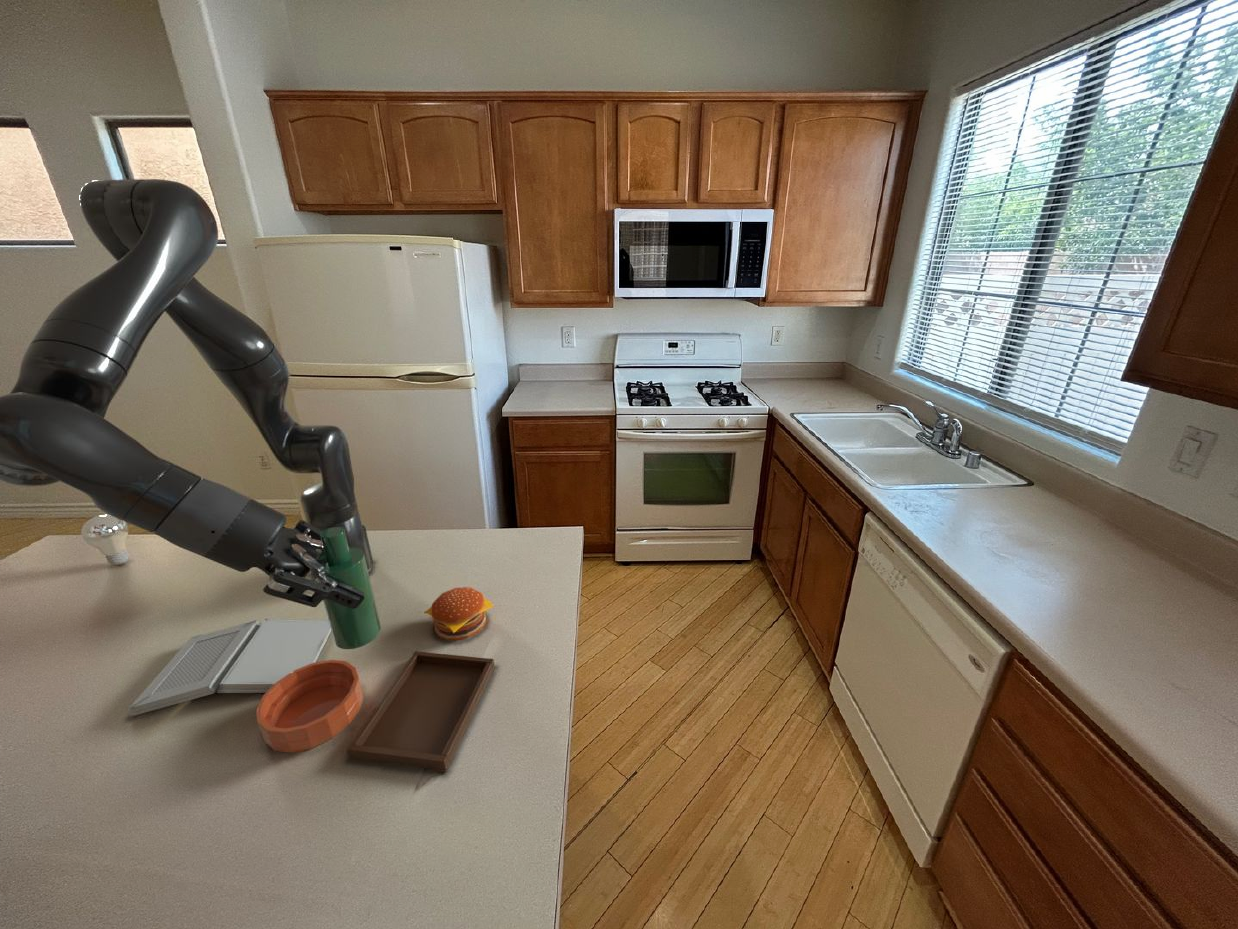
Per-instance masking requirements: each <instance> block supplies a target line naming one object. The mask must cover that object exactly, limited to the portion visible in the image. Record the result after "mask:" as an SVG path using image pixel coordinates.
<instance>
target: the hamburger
mask: <svg viewBox="0 0 1238 929" xmlns="http://www.w3.org/2000/svg"><path fill="white" fill-rule="evenodd" d="M493 607H495V605H494V604H493V603H492V602H491V601H490V600H488V599H486V598H485V596H484V594H483V592H481V591H479V590H476V589H475V588H473V587H471V586H468V587H467V586H466V587H465V586H463V587H454V588H451V589H448V590H447V591H443V592H442V593H441V594H440V595H439V596H438V597H437V598H436V599H435V600H434V601H433V602H432V603H431V606H430V607H429V608H428V609H427V610H425V611H424V613H423V614H427V615H429V616H431V618H432V621H433V624H434V632H435V634H436V635H437V636H438V637H439V638H441V639H443V640H446V641H461V640H465V639H468V638H471V637H472V636H474V635H476V634H478V633H479V632H480V631H481V630H482V629H484V628H485V625H486V623H487V615H486V611H488V610H490V609H492V608H493Z"/></svg>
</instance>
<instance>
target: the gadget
mask: <svg viewBox="0 0 1238 929" xmlns="http://www.w3.org/2000/svg"><path fill="white" fill-rule="evenodd" d="M330 634H332V631H331V628H330V624H329V620H310V619H309V620H303V619H273V618H272V619H270V618H269V619H268V618H266V619H264V621H263V622H258V619H257V620H251V621H248V622H245V623H240V624H237V625H233V626H230V627H226V628H221V629H217V630H215V631H211V632H207V633H203V634H198V635H196V636H192V637H190V638H189V639H188V640H187V641H186V642H185V643H184V645H182V647H181V648H180V649H179V650H178V651H177V652H176V654H175V655H174V656H173V657H172V658H171V659H170V660H169V662H168V663H167V664H166V665H165V666H164V667H163V668H162V669H161V671H160V672H159V673H158V674H157V675H156V676H155V677H154V679H153V680H152V681H151V682H150V683H149V684H148V685H147V686H146V688H145V689H144V690H143V692H141V694H139V696H138V697H137V698H136V699H135V700H134V702H133V703H132V704H131V705H130V706H129V708H128V709H129V710H130V713H129V715H130V717H134V716H138V715H142V714H145V713H148V712H152V711H156V710H159V709H163V708H166V707H170V706H175V705H178V704H181V703H185V702H188V701H192V700H196V699H199V698H202V697H206V696H209V695H212V694H215V693H217V694H244V693H245V694H249V693H250V694H252V693H253V694H255V693H261V694H263V693H264V694H265V693H266V692H267V691H268V690H269V689H270V688H271V687H272V686H273V685H274V684H275V683H276V682H277V681H279V680H280V679H282V678H283V677H285V676H287V675H288V674H290V673H291V672H293V671H294V670H296V669H299V668H301V667H304V666H306V665H309V664H311V663H315V662H317V660H318V659H319V657H320V654H321V652H322V650H323V648H324V646H325V644H326V642H327V641H328V638H329V637H330Z"/></svg>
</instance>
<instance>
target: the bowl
mask: <svg viewBox="0 0 1238 929" xmlns="http://www.w3.org/2000/svg"><path fill="white" fill-rule="evenodd" d="M364 697H365V696H364V691H363V687H362V684H361V681H360V677H359V674H358V671H357V668H356V667H355V666H354V665H352V664H351V663H349V662H347V661H346V660H338V659H326V660H321V661H316V662H315V663H311V664H309V665H306V666H304V667H301V668H299V669H296V670H294V671H293V672H291V673H290V674H288V675H287V676H285V677H283V678H282V679H280V680H279V681H277V682H276V683H275V684H274V685H273V686H272V687H271V688H270V689H269V690H268V691H267V692H266V693H264V695H262V697H261V699H260V701H259V703H258V705H257V707H256V709H255V714H256V722H257V726H258V728H259V731H260V733H261V736H262V738H263V740H264V743H265V744H266V745H267V746H268V747H270V748H271V749H272V750H273V751H275V752H282V753H290V754H294V753H297V752H302V751H307V750H312V749H314V748H316V747H318V746H320V745H322V744H324V743H326V742H328V741H331V740H332V739H334V738H335V737H337V735H339V734H340V733H341V732H342V731H343V730H345V729H346V728H347V727H349V726H350V725H351V723H352V722H353V721H354V719H355V718H356V716H357V715H358V714H359V712H360V711H361V709H362V705H363V701H364Z"/></svg>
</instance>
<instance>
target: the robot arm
mask: <svg viewBox="0 0 1238 929" xmlns="http://www.w3.org/2000/svg"><path fill="white" fill-rule="evenodd" d="M79 206H80V209H81V213H82V215H83V217H84V220H85V222H86V223H87V225H88V227H89V229H90V230H91V232H92V233H93V234H94V236H95V237H96V239H97V240H98V241H99V243H100V244H101V245H102V246H103V247H104V248H105V249H106V251H107V252H108V253H109V254H110V255H111V256H112V258H113V259H115V261H116V262H115V263H114V264H112V265H111V266H109V267H108V268H107V269H106V270H104V271H102V272H101V273H99V274H98V275H96V276H95V277H93V278H92V279H90V280H89V281H87V282H86V283H84V284H83V285H81V286H80V287H78V288H77V289H75V290H74V291H72V292H71V293H70V294H68V295H67V296H66V297H65V298H64V299H62V301H60V302H59V303H58V304H57V305H56V306H55V307H54V308H53V309H52V311H50V313H49V314H48V315H47V317H46V318H45V320H44V322H43V323H42V325H41V326H40V328H39V330H38V331H37V332H36V334H35V336H34V337H33V339H32V340H31V342H30V344H29V345H28V347H27V348H26V351H25V352H24V354H23V356H22V359H21V362H20V366H19V372H18V377H17V380H16V382H15V384H14V386H13V388H12V389H11V390H10V392H9V393H8V394H4V395H1V396H0V481H1V482H3V483H6V484H10V485H14V486H18V487H19V486H20V487H42V486H50V485H53V484H57V483H59V482H61V483H63V484H65V485H68V486H70V487H71V488H74V489H75V490H78V491H80V492H82V493H83V494H85V495H87V496H88V497H89V498H90V499H91V501H92V502H93V503H94V506H96V507H97V508H98V509H99V510H100V511H102V512H103V513H105V514H106V515H111V516H113V517H115V518H117V519H120V520H123V521H124V522H126V523H127V524H128V525H129V524H130V525H132V526H134V527H136V528H139V529H141V530H144V531H146V532H149V533H151V534H152V533H153V534H154V535H156V536H157V537H160V538H162V539H164V540H165V541H167V542H168V543H170V544H172V545H175V546H176V547H178V548H181V549H183V550H186V551H188V552H190V553H193V554H195V555H198V556H200V557H203V558H205V559H208V560H210V561H212V562H215V563H217V564H220V565H222V566H225V567H227V568H230V569H232V570H234V571H237V572H239V573H246V572H248V571H249V570H251V569H253V568H257V569H259V570H260V571H262V572H264V574H266V575H267V576H269V581H268V583H267V584H266V585H265V586H264V587H263V588H262V591H263V593H265V594H266V595H269V596H272V597H276V598H279V599H283V600H286V601H290V602H293V603H297V604H300V605H304V606H307V607H310V608H317V607H318V606H319V605H320V604H321V603H322V602H323V600H325V599H329V600H331V601H334V602H336V603H338V604H341V605H344V606H346V607H348V608H351V609H355V608H357V607H358V606H359V605H360V604H361V602H362V601H363V600H364V598H365V593H364V592H362V591H359V590H357V589H355V588H353V587H350V586H348V585H346V584H344V583H341V582H337V581H336V580H335V579H333V578H332V577H331V576H329V575H327V574H326V573H325V571H324V569H325V568H324V566H323V565H321V564H320V563H319V562H317V561H316V560H317V559H318V558H320V557H321V556H323V555H324V554H325V552H324V548H323V544H322V541H321V537H320V534H321V532H323V531H324V530H326V529H329V528H332V527H342V528H344V531H345V535H346V539H347V543H348V547H349V548H357V549H360V550H362V551H363V552H364V556H365V560H366V565H367V569H368V573H369V574H370V573H371V572H372V569H373V566H372V565H373V564H374V558H373V554H372V549H371V546H370V542H369V537H368V533H367V528H366V526H365V525H364V524H362V520H361V515H360V510H359V507H358V503H357V498H356V493H355V477H354V471H353V465H352V459H351V453H350V452H351V451H350V447H349V442H348V440H347V437H346V435H345V433H344V431H343V430H342V429H341V428H340V427H338V426H336V425H327V424H326V425H316V424H315V425H313V424H311V425H301V424H300V423H298V422H297V421H296V420H295V419H294V418H293V417H292V415H291V413H290V412H289V409H288V408H287V406H286V401H287V400H286V399H287V394H288V389H289V384H290V371H289V366H288V364H287V362H286V361H285V358H284V357H283V356H282V353H281V352H280V351H279V349H278V348H277V346H276V344H275V343H274V340H272V338H271V337H270V335H269V334H268V333H267V332H266V330H264V328H263V327H262V326H260V325H259V324H258V323H257V322H255V321H254V320H253V319H252V318H250V317H249V316H247V315H246V314H244V313H243V312H241V311H240V310H238V309H237V308H235V307H234V306H233V305H231V304H229V303H228V302H227V301H225V300H223V299H222V298H220V297H219V296H217V295H216V294H215V293H214V292H212V291H210V290H209V289H208V288H207V287H206V286H204V285H203V284H202V283H201V282H200V281H199V280H198V279H197V278H196V277H195V276H196V275H197V273H199V271H200V270H201V269H202V268H203V267H204V266H205V264H206V263H207V262H208V261H209V260H210V258H211V257H212V255H213V254H214V252H215V250H216V248H217V245H218V241H219V228H218V222H217V220H216V217H215V215H214V213H213V211H212V209H211V208H210V206H209V204H208V202H206V200H205V199H204V198H203V197H202V196H201V195H200V194H199V193H198V192H197V191H196V190H195V189H194V188H192V187H190V186H188V185H186V184H185V183H181V182H178V181H175V180H167V179H158V178H149V179H148V178H145V179H144V178H143V179H141V178H138V179H137V178H136V179H134V178H132V179H130V178H129V179H126V178H125V179H124V178H123V179H97V180H92V181H89V182H87V183H85V184H84V185H83V186H82V187H81V189H80V192H79ZM164 313H165V314H167V315H168V317H169V318H170V319H171V320H172V322H173V323H174V324H175V325H176V327H177V328H178V329H179V330H180V331H181V332H182V334H184V336H185V337H186V338H187V339H188V340H189V342H190V344H192V346H193V347H194V348H195V349H196V351H197V352H198V354H199V355H200V356H201V357H202V359H203V360H204V362H205V363H206V364H207V366H208V367H209V368H210V369H211V371H212V372H213V373H214V375H215V376H216V377H217V378H218V380H219V381H220V382H221V383H222V384H223V385H224V387H225V388H226V389H227V390H228V391H229V392H230V394H232V396H233V397H234V398H235V400H236V402H238V404H239V405H240V406H241V408H242V410H243V411H244V412H245V413H246V414H247V416H248V417H249V418H250V420H251V421H252V423H253V425H254V426H255V427H256V429H257V431H258V432H259V434H260V435H261V437H262V438H263V440H264V441H265V443H266V445H267V446H268V448H269V450H270V451H271V453H272V455H273V456H274V458H275V459H276V461H277V462H278V463H279V465H280V466H282V468H283V469H285V470H286V471H288V472H290V473H294V474H320V475H321V479H322V480H321V481H322V482H319V483H317V484H313V485H312V486H310V487H308V488H307V489H305V490H304V491H303V492H302V493H301V494H300V503H301V507H302V510H303V514H304V518H305V520H304V519H299V520H298V522H297V523H296V524H295V525H294V526H293V527H292V528H289V527H287V526H286V527H285V525H286V523H287V516H286V515H285V514H284V513H282V512H280V511H278V510H276V509H274V508H272V507H269V506H268V505H265V504H264V503H261V502H259V501H257V500H255V499H253V498H252V497H249V496H247V495H246V494H243V493H241V492H239V491H238V490H235V489H234V488H231V487H229V486H227V485H224V484H222V483H219V482H216V481H213V480H210V479H207V478H205V477H202V476H201V475H199V474H197V473H195V472H193V471H190V470H188V469H186V468H185V467H183V466H180V465H178V464H176V463H174V462H172V461H169V460H167V459H165V458H163V457H161V456H158V455H157V454H155V453H154V452H152V451H151V450H150V449H148V448H146V447H145V445H143V444H142V443H140V442H139V441H138V440H137V439H135V438H134V437H132V436H131V435H129V433H126V432H125V431H124V430H122V429H121V428H119V427H118V426H116V425H115V424H114V423H112V422H110V421H109V420H107V419H106V418H105V417H106V414H107V412H108V408H109V407H110V404H111V402H112V401H113V400H114V398H115V396H116V395H117V394H118V392H119V390H120V389H121V388H122V387H123V385H124V383H125V381H126V379H127V378H128V375H129V373H130V372H131V369H132V368H133V366H134V363H135V362H136V359H137V357H138V355H139V353H140V351H141V349H142V347H143V345H144V343H145V341H146V339H147V338H148V336H149V334H150V333H151V331H152V330H153V328H154V327H155V325H156V324H157V322H158V321H159V319H160V318H161V316H162V315H163V314H164ZM317 579H319V580H320V581H321V582H323V583H324V584H321V583H318V581H317ZM306 592H308V593H309V594H310V595H308V594H306Z"/></svg>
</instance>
